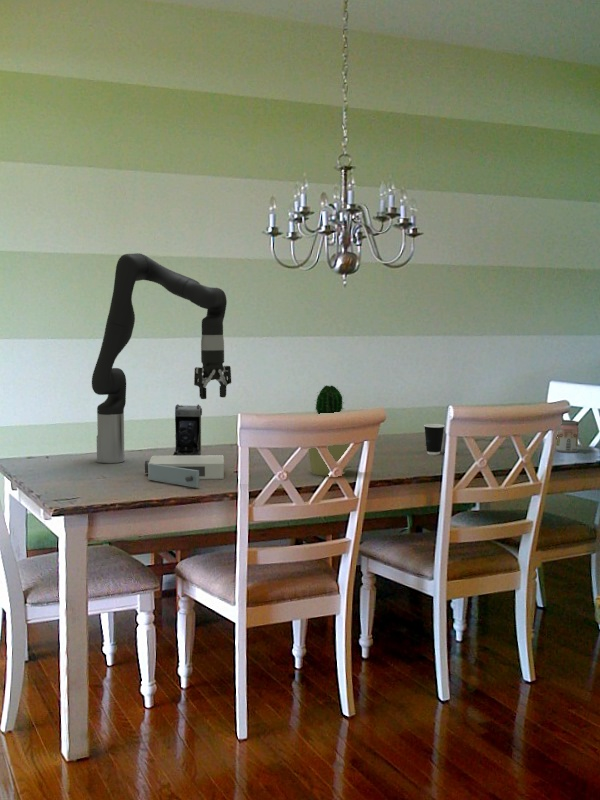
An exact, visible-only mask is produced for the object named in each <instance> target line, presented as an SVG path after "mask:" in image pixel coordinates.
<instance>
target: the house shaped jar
mask: <svg viewBox="0 0 600 800" xmlns="http://www.w3.org/2000/svg"><path fill="white" fill-rule="evenodd" d="M561 420H562V424H561V426H560V429H559V432H558V438H557V445H556V444H555V450H556V451H557V452H559V453H565V454H573V453H574V454H575V453H577V451H578V449H579V424H580V422H579V421H577V420H571V419H561Z"/></svg>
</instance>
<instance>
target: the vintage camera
mask: <svg viewBox="0 0 600 800" xmlns="http://www.w3.org/2000/svg"><path fill="white" fill-rule="evenodd" d="M202 415H203V408H202V406H201V405H200V404H196V405H182V404H181V405H180V404H176V405H175V407H174V422H175V423H174V424H175V425H174V426H175V435H174V438H175V447H174V448H175V451H173V454H172V456H185V455H202Z"/></svg>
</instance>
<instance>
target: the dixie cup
mask: <svg viewBox="0 0 600 800" xmlns="http://www.w3.org/2000/svg"><path fill="white" fill-rule="evenodd" d="M423 426H424V433H425V434H424V436H425V447H426V452H427V453H426V454H428V455H433V456H436V455H441V452H442V446H443V439H444V430H445V427H446V425H445V424H441V423H440V424H439V423H426V424H424V425H423Z"/></svg>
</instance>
